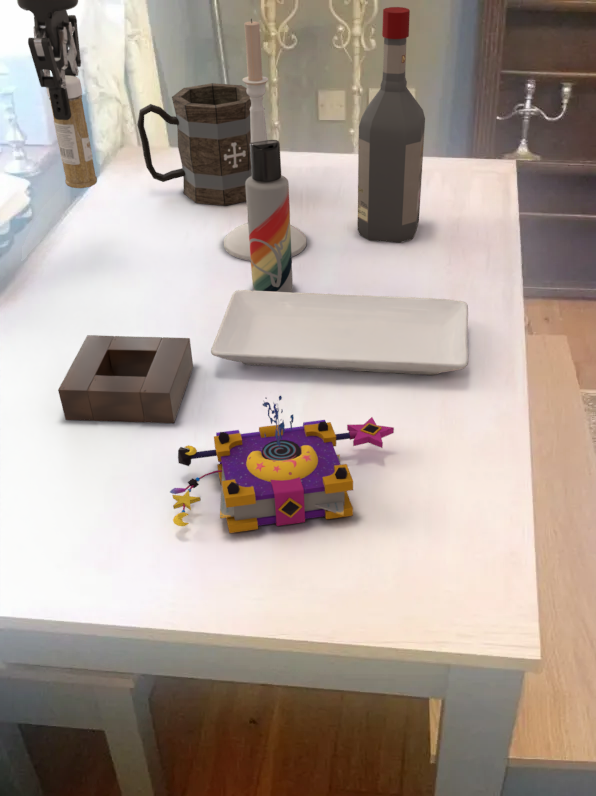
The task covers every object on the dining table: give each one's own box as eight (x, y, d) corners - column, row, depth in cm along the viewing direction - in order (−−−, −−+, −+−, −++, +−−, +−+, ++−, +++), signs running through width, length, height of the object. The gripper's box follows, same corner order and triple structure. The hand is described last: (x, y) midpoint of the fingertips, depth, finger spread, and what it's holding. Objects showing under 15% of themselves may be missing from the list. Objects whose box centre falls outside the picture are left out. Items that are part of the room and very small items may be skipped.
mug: (258, 175, 161) (252, 81, 150) (264, 203, 151) (259, 105, 141) (147, 181, 159) (134, 86, 148) (147, 210, 149) (132, 111, 139)
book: (165, 464, 98) (148, 364, 89) (387, 436, 102) (391, 336, 93) (177, 550, 88) (159, 446, 79) (423, 515, 92) (431, 411, 83)
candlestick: (289, 266, 134) (279, 33, 113) (210, 255, 137) (186, 26, 116) (317, 233, 142) (313, 11, 121) (243, 223, 145) (226, 5, 124)
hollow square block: (65, 420, 104) (57, 389, 101) (93, 364, 113) (87, 334, 111) (174, 423, 104) (169, 393, 101) (193, 367, 113) (189, 337, 110)
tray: (465, 389, 109) (468, 363, 106) (210, 376, 111) (207, 350, 109) (466, 323, 121) (468, 299, 118) (235, 312, 123) (233, 288, 121)
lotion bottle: (261, 303, 125) (250, 150, 111) (247, 286, 129) (236, 136, 115) (298, 295, 127) (293, 144, 113) (284, 279, 131) (277, 130, 117)
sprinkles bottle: (103, 184, 129) (86, 79, 120) (76, 192, 127) (56, 85, 117) (86, 175, 131) (67, 72, 122) (59, 183, 129) (38, 78, 120)
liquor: (420, 221, 146) (433, 3, 125) (413, 244, 139) (426, 18, 118) (364, 218, 147) (368, 1, 126) (355, 240, 140) (357, 16, 119)
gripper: (28, -50, 116) (56, 97, 128) (-9, -28, 106) (25, 129, 117) (85, -49, 116) (108, 98, 127) (54, -27, 105) (81, 130, 117)
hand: (68, 112), depth 122 cm, fingers closed on sprinkles bottle, 4 cm apart
